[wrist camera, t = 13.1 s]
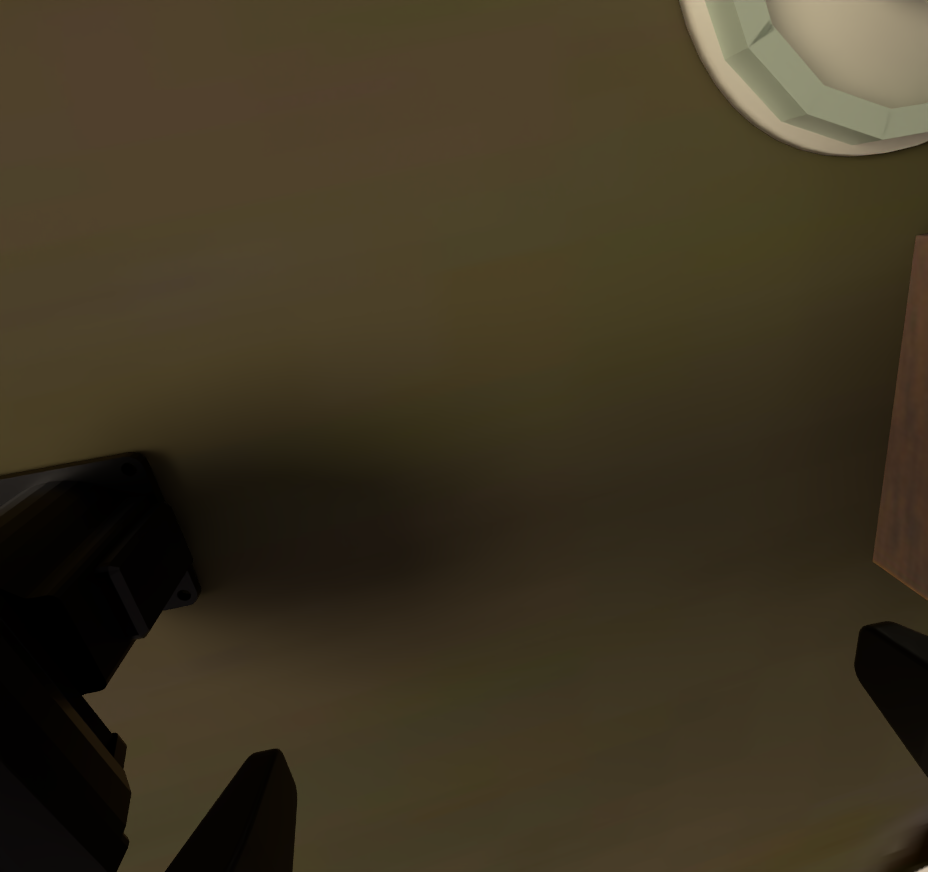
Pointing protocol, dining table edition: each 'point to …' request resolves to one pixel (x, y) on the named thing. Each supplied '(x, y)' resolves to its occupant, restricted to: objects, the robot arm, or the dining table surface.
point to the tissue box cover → (908, 446)
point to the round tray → (820, 69)
